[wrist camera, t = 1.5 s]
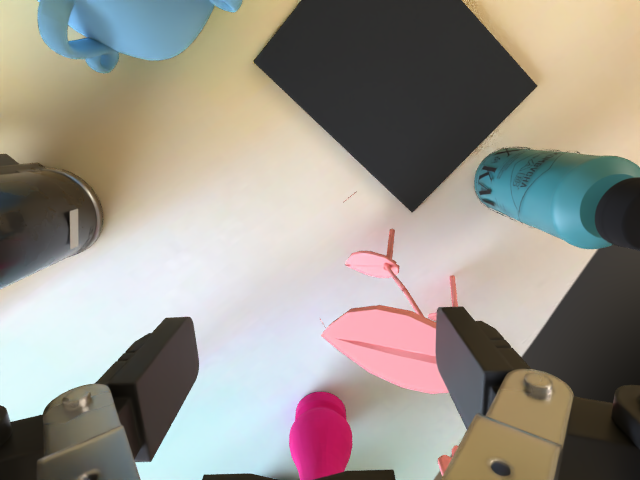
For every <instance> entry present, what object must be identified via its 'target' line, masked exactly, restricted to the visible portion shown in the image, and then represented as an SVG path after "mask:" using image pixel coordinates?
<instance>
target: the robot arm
mask: <svg viewBox="0 0 640 480" xmlns="http://www.w3.org/2000/svg"><path fill="white" fill-rule="evenodd" d="M102 226H103V212H102V208H101V204H100V202H99V200H98V198H97V196H96V194H95V193H94V191H93V190H92V189H91V187H90V186H89V185H88V184H87V183H86V182H85V181H83V180H82V179H81V178H79V177H78V176H76V175H75V174H73V173H70V172H68V171H65V170H61V169H55V168H45V167H43V166H42V165H41V164H40V163H29V164H19V163H17V162H16V161H15V160H14V159H12V158H11V157H10V156H8V155H7V154H0V289H2V288H4V287H6V286H8V285H11V284H13V283H15V282H17V281H19V280H21V279H23V278H25V277H27V276H29V275H32V274H34V273H36V272H38V271H40V270H42V269H44V268H46V267H48V266H51V265H53V264H55V263H57V262H59V261H61V260H63V259H65V258H67V257H70V256H73V255H76V254H78V253H80V252H82V251H84V250H86V249H88V248H89V247H90V246H92V245H93V244H94V243H95V241H96V240H97V239H98V237H99V235H100V233H101V230H102ZM435 353H436V362H437V367H438V370H439V373H440V375H441V377H442V379H443V381H444V383H445V385H446V387H447V389H448V391H449V393H450V396H451V398H452V400H453V402H454V404H455V406H456V408H457V410H458V412H459V414H460V416H461V418H462V420H463V422H464V424H465V426H466V429H467V431H466V433H465V435H464V437H463V439H462V441H461V442H460V444H459V446H458V448H457V450H456V452H455V454H454V456H453V457H452V459H451V461H450V463H449V465H448V467H447V469H446V471H445V472H444V474H443V476H442V478H441V480H640V385H626V386H622V387H619V388H618V389H617V390H616V391H615V396H614V402H613V403H609V402H603V401H597V400H591V399H584V398H579V397H575V396H573V392H572V390H571V389H570V387H569V386H568V385H567V384H566V383H565V382H563V381H562V380H560V379H559V378H557V377H555V376H553V375H551V374H548V373H545V372H542V371H538V370H532V369H531V368H530V367H529V366H528V365H527V363H526V362H525V361H524V360H523V359H522V358H521V357H520V356H519V355H518V353H517V352H516V351H515V350H514V349H513V348H511V346H510V344H509V343H508V342H507V341H506V340H504V338H503V337H502V336H501V334H500V333H499V332H498V331H497V330H496V329H495V328H493V327H491V326H490V325H488V324H486V323H484V322H482V321H474V319H473V318H472V317H471V316H470V314H469V313H468V312H467V311H466V310H465V308H464V307H439V308H438V310H437V316H436V349H435ZM198 370H199V358H198V351H197V345H196V338H195V331H194V325H193V321H192V319H191V318H190V317H174V318H165V319H164V320H163V321H162V322H161V324H160V325H159V326H158V327H157V328H156V329H155V330H154V331H153V332H152V333H149V334H147V335H145V336H144V337H142V338H140V339H139V340H137V341H135V342H134V343H133V344H132V345H131V346H130V347H129V348H128V350H127V351H126V353H124V354H123V355H122V356H121V357H120V358H119V359H118V361H117V362H115V363H114V364H113V365H112V366H111V367H110V368H109V369H108V370H107V371H106V373H105V374H104V375H103V376H102V377H101V378H100V379H99V380H98V381H97V382H96V383H95V384H89V385H84V386H80V387H77V388H74V389H71V390H69V391H67V392H65V393H63V394H61V395H59V396H58V397H56V398H55V399H54V400H52V401H51V402H50V403H49V404H48V405H47V406H46V408H45V410H44V412H43V415H39V416H35V417H31V418H26V419H22V420H18V421H13V422H10V420H9V416H8V413H7V410H6V408H5V407H3V406H0V480H140V477H139V474H138V470H137V467H136V464H135V462H151V461H152V459H153V457H154V455H155V454H156V452H157V450H158V448H159V446H160V444H161V443H162V441H163V439H164V437H165V435H166V433H167V432H168V430H169V428H170V426H171V424H172V423H173V421H174V419H175V417H176V415H177V413H178V412H179V410H180V408H181V406H182V404H183V402H184V401H185V399H186V397H187V395H188V393H189V391H190V390H191V388H192V386H193V384H194V382H195V381H196V378H197V375H198ZM202 480H278V479H273V478H268V477H264V476H259V475H254V474H216V475H204V476H203V479H202ZM313 480H395V475H394V470H364V471H344V472H340V473H337V474H333V475H329V476H325V477H321V478H317V479H313Z"/></svg>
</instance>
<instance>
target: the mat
mask: <svg viewBox="0 0 640 480" xmlns="http://www.w3.org/2000/svg"><path fill="white" fill-rule="evenodd" d="M254 63H255V64H256V65H257V66H258V67H259V68H260V69H261V70H263V71H264V72H265V73H266V74H267V75H268V76H269V77H270V78H271V79H272V80H273V81H274V82H275V83H276V84H277V85H278V86H279V87H280V88H282V89H283V90H284V91H285V92H286V93H287V94H288V95H289V96H290V97H291V98H292V99H293V100H294V101H295V102H296V103H297V104H298V105H299V106H300V107H302V108H303V109H304V110H305V111H306V112H307V113H308V114H309V115H310V116H311V117H312V118H313V119H314V120H315V121H316V122H317V123H318V124H319V125H321V126H322V127H323V128H324V129H325V130H326V131H327V132H328V133H329V134H330V135H331V136H332V137H333V138H334V139H335V140H336V141H337V142H338V143H339V144H341V145H342V146H343V147H344V148H345V149H346V150H347V151H348V152H349V153H350V154H351V155H352V156H353V157H354V158H355V159H356V160H357V161H358V162H360V163H361V164H362V165H363V166H364V167H365V168H366V169H367V170H368V171H369V172H370V173H371V174H372V175H373V176H374V177H375V178H376V179H377V180H378V181H380V182H381V183H382V184H383V185H384V186H385V187H386V188H387V189H388V190H389V191H390V192H391V193H392V194H393V195H394V196H395V197H396V198H397V199H399V200H400V201H401V202H402V203H403V204H404V205H405V206H406V207H407V208H408V209H409V210H410V211H411V212H413V211H414V210H415V209H416V208H417V207H418V206H419V205H420V204H421V203H422V202H423V201H424V200H425V199H426V198H427V197H428V196H429V195H430V194H431V193H432V192H433V191H434V190H435V189H436V188H437V187H438V186H439V185H440V184H441V183H442V182H443V181H444V180H445V179H446V178H447V177H448V176H449V175H450V174H451V173H452V172H453V171H454V170H455V169H456V168H457V167H458V166H459V165H460V164H461V163H462V162H463V161H464V160H465V159H466V158H467V157H468V156H469V155H470V154H471V153H472V152H473V151H474V150H475V149H476V148H477V147H478V145H479V144H480V143H481V142H482V141H483V140H484V139H485V138H486V137H487V136H488V135H489V134H490V133H491V132H492V131H493V130H494V129H495V128H496V127H497V126H498V125H499V124H500V123H501V122H502V121H503V120H504V119H505V118H506V117H507V116H508V115H509V114H510V113H511V112H512V111H513V110H514V109H515V108H516V107H517V106H518V105H519V104H520V103H521V102H522V101H523V100H524V99H525V98H526V97H527V96H528V95H529V94H530V93H531V92H532V91H533V90H534V89H535V88H536V87H537V85H536V84H535V83H534V82H533V80H532V79H531V78H530V77H529V76H528V75H527V74H526V73H525V71H524V70H523V69H522V68H521V67H520V66H519V65H518V64H517V62H516V61H515V60H514V59H513V58H512V57H511V56H510V55H509V53H508V52H507V51H506V50H505V49H504V48H503V47H502V46H501V44H500V43H499V42H498V41H497V40H496V39H495V38H494V36H493V35H492V34H491V33H490V32H489V31H488V30H487V29H486V27H485V26H484V25H483V24H482V23H481V22H480V21H479V20H478V18H477V17H476V16H475V15H474V14H473V13H472V12H471V11H470V9H469V8H468V7H467V6H466V5H465V4H464V3H463V2H462V0H302V1H301V2H300V3H299V4H298V6H297V7H296V8H295V9H294V11H293V12H292V13H291V15H290V16H289V17H288V18H287V20H286V21H285V22H284V23H283V25H282V26H281V27H280V28H279V30H278V31H277V32H276V33H275V35H274V36H273V37H272V39H271V40H270V41H269V42H268V44H267V45H266V46H265V47H264V49H263V50H262V51H261V52H260V54H259V55H258V56H257V58H256V59H255V60H254Z"/></svg>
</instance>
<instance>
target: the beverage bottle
mask: <svg viewBox="0 0 640 480" xmlns="http://www.w3.org/2000/svg"><path fill="white" fill-rule="evenodd" d="M517 148H527V147H517ZM517 148H511V146H510V148H508V147H506V148H505V149H504V148H503V149H501V148H500V149H501V150H498V151H496V152H494V153H493V152H492V154H489V156H488V157H486V158H485V159H484V160H483V161H482V162H481V164H480V165H479V167H478V169H477V171H476V174H475V181H474V185H475V190H476V191H475V192H476V193H477V194H476V195H478V197H479V199H480V200H481V202H483V203H484V204H485V205H486V206H487V208H488V207H489V209H490V208H492V209H494V210H496V211H499V212H501V213H503V214H505V215H507V216H509V217H512V218H514V219H516V220H518V221H520V222H521V223H525V224H527V225H529V226H532V227H535V228H537V229H539V230H542V231H544V232H546V233H549V234H551V235H553V236H555V237H558V238H560V239H562V240H564V241H566V242H567V243H569V244H571V245H573V246H576V247H579V248H584V249H599V248H604V247H608V246H611V245H613V244H614V245H617V246H620V247H625V248H630V249H635V250H638V251H640V167H639V166H638V165H636V164H635V163H633V162H631V161H630V160H628V159H625V158H622V157H617V156H594V155H583V154H580V152H579V154H577V153H578V152H577V153H567V152H568V151H567V152H561V151H560V152H555V151H554V150H553V149H552V150H553V151H552V150H551V151H542V150H530V149H529V148H527V149H517ZM558 151H559V150H558ZM490 210H491V209H490ZM497 213H498V212H497ZM499 214H500V213H499ZM501 215H502V214H501ZM503 216H504V215H503ZM505 217H506V216H505ZM509 219H511V218H509ZM516 220H515V221H516ZM529 228H530V227H529Z"/></svg>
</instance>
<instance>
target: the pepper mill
mask: <svg viewBox="0 0 640 480" xmlns="http://www.w3.org/2000/svg"><path fill="white" fill-rule="evenodd" d="M289 446H290V451H291V456H292V458H293V461H294V463H295V465H296V467H297V469H298V472H299V477H300V480H313V479H317V478H321V477H325V476H329V475H333V474H337V473H340V472H344V470H345V468H346V465H347V463H348V461H349V459H350V455H351V450H352V431H351V428H350V426H349V424H348V422H347V420H346V410H345V406H344V404H343V403H342V401H341V400H340V399H339V398H338V397H337V396H335V395H333V394H331V393H327V392H314V393H311V394H309V395H307V396H305V397H304V398H303V399H302V400H301V401H300V402H299V404H298V406H297V409H296V417H295V422H294V423H293V425H292V427H291V430H290V436H289Z"/></svg>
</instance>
